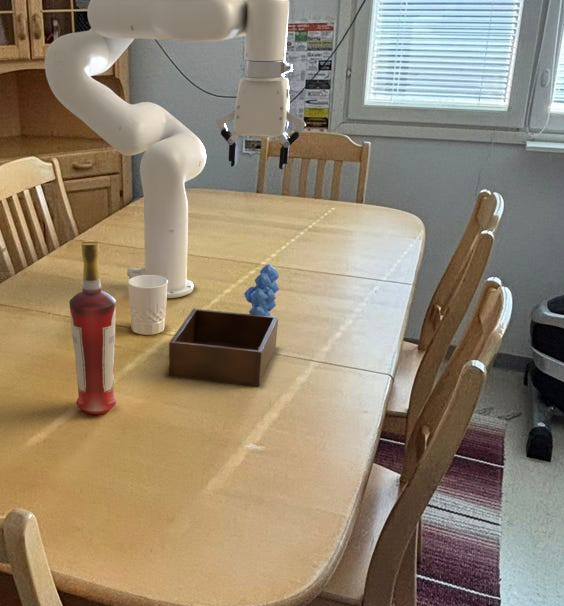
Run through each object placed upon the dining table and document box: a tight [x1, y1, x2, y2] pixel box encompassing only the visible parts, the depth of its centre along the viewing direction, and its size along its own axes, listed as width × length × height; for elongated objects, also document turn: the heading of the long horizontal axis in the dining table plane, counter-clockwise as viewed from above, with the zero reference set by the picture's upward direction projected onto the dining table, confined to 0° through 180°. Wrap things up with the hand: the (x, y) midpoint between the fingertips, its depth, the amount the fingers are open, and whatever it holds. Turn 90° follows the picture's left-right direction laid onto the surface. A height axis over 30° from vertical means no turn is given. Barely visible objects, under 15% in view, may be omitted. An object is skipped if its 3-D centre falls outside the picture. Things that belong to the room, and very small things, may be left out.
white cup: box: [127, 275, 168, 336], centre depth 172 cm, size 8×8×10 cm
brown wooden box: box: [168, 308, 279, 387], centre depth 159 cm, size 17×18×6 cm
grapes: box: [243, 264, 280, 316], centre depth 173 cm, size 12×7×12 cm, turn 154°
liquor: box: [68, 239, 118, 416], centre depth 137 cm, size 7×7×28 cm
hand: (257, 166), depth 170 cm, fingers open, 9 cm apart
